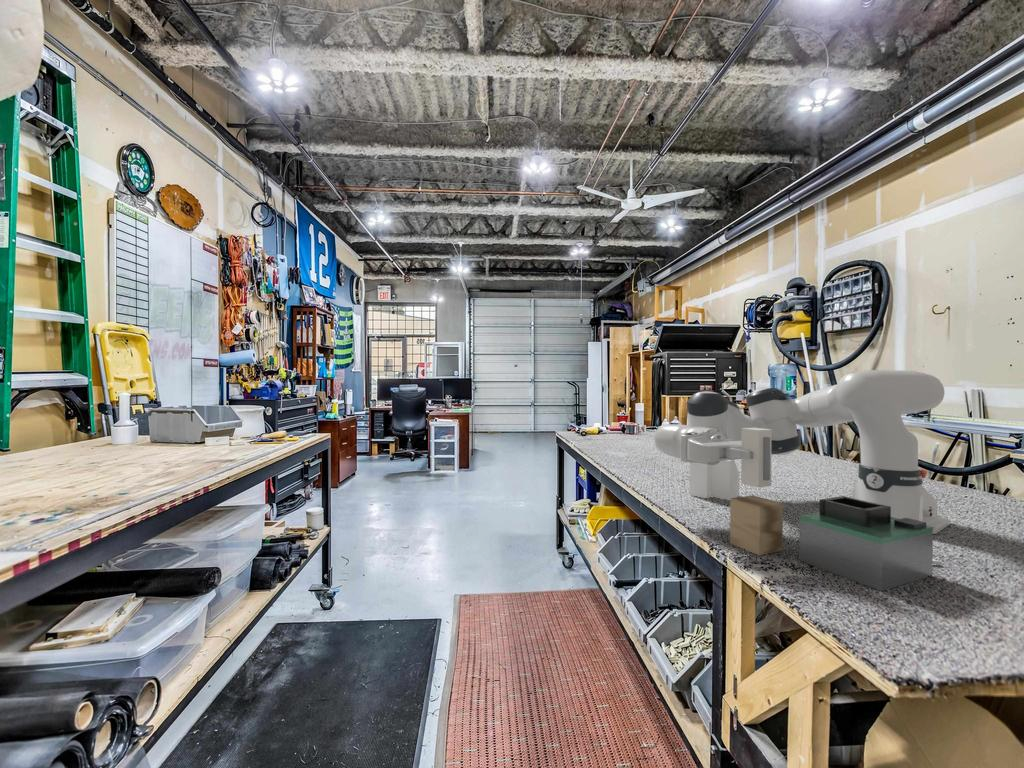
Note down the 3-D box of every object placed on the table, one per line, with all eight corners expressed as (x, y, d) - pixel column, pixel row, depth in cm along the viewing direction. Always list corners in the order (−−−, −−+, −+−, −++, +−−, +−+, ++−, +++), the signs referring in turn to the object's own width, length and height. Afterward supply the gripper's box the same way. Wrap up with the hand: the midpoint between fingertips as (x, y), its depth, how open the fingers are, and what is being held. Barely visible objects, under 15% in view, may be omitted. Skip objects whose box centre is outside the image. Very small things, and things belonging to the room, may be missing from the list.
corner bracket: (689, 495, 136) (690, 457, 136) (705, 489, 143) (705, 453, 143) (725, 502, 128) (725, 462, 128) (739, 496, 135) (739, 458, 135)
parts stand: (752, 539, 97) (752, 495, 97) (782, 550, 91) (782, 503, 91) (730, 543, 95) (730, 498, 95) (759, 555, 88) (759, 506, 88)
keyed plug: (754, 481, 95) (754, 427, 95) (774, 486, 91) (775, 429, 91) (741, 483, 94) (741, 428, 94) (761, 488, 89) (762, 430, 89)
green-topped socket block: (848, 548, 92) (848, 492, 92) (932, 575, 80) (932, 510, 79) (799, 559, 86) (799, 500, 86) (881, 591, 73) (882, 520, 73)
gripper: (738, 456, 109) (792, 466, 96) (675, 461, 101) (725, 473, 88) (738, 431, 109) (792, 437, 96) (675, 434, 101) (725, 442, 88)
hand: (759, 454), depth 92 cm, fingers closed on keyed plug, 4 cm apart
